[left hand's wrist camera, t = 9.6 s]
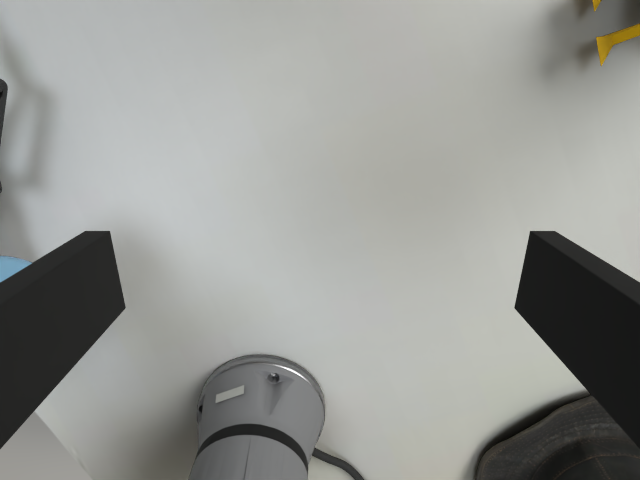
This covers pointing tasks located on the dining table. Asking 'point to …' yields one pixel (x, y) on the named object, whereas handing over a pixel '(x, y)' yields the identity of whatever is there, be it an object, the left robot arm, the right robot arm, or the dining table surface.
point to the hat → (565, 448)
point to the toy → (614, 37)
